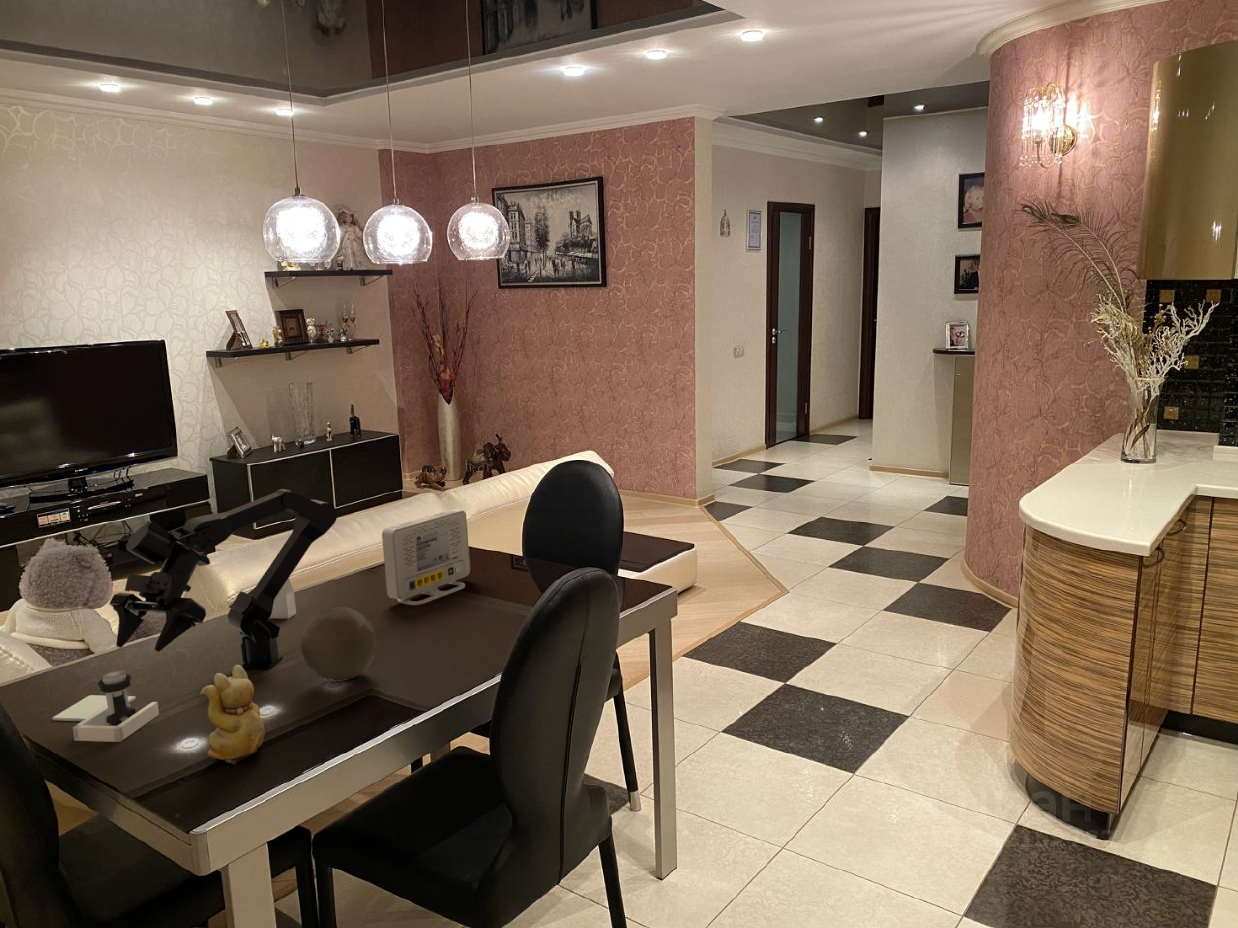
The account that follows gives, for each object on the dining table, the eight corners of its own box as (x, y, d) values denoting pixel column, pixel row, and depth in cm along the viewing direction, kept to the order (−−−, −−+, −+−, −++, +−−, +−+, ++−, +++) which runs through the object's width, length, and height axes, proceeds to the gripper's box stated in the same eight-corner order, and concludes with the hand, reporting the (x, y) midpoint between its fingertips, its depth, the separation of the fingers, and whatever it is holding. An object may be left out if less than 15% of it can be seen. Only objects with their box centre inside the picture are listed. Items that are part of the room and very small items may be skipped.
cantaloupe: (320, 667, 193) (313, 599, 191) (387, 665, 193) (380, 597, 190) (295, 696, 179) (287, 622, 177) (366, 694, 179) (359, 620, 176)
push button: (110, 737, 165) (102, 684, 163) (91, 732, 167) (83, 680, 166) (143, 721, 171) (136, 670, 169) (124, 717, 173) (117, 667, 171)
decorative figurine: (240, 738, 162) (230, 658, 160) (280, 743, 160) (271, 661, 157) (201, 765, 153) (190, 680, 151) (243, 770, 151) (232, 684, 148)
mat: (135, 698, 182) (135, 696, 181) (100, 721, 172) (100, 718, 172) (90, 697, 183) (89, 695, 183) (52, 720, 173) (52, 717, 173)
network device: (455, 578, 253) (450, 507, 250) (478, 582, 248) (473, 510, 245) (382, 604, 233) (375, 528, 230) (405, 610, 228) (398, 532, 225)
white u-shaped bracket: (159, 714, 174) (157, 701, 173) (120, 741, 163) (118, 728, 163) (115, 713, 175) (114, 700, 175) (74, 740, 164) (72, 727, 164)
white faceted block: (288, 618, 226) (284, 579, 224) (263, 618, 227) (258, 579, 225) (296, 613, 229) (292, 574, 228) (271, 613, 230) (266, 574, 229)
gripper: (110, 552, 178) (69, 626, 170) (187, 557, 172) (148, 634, 164) (148, 580, 187) (110, 651, 179) (222, 585, 181) (187, 659, 173)
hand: (137, 648), depth 173 cm, fingers open, 9 cm apart
